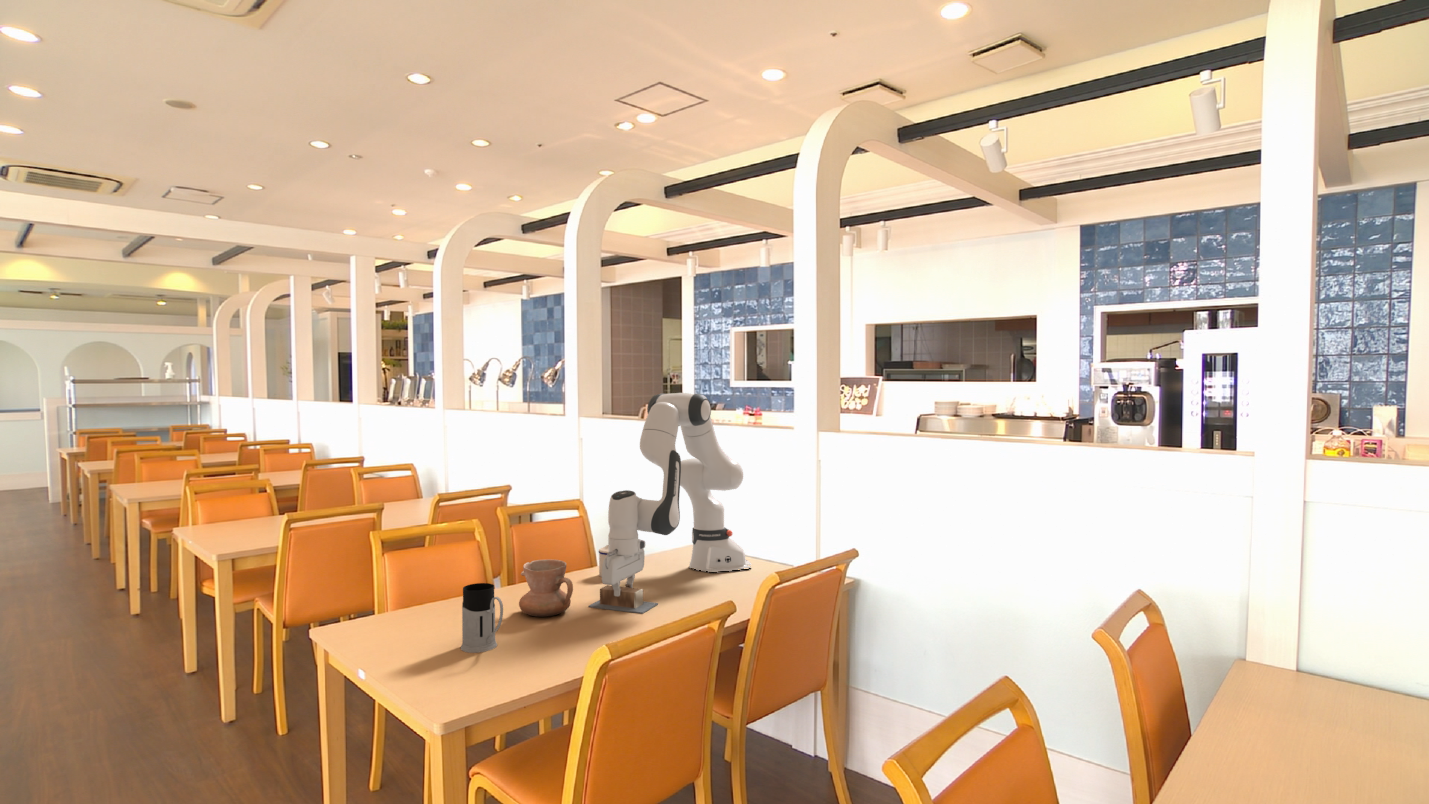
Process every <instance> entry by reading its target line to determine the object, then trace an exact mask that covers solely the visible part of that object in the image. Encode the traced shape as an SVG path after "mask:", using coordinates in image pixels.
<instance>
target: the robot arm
mask: <svg viewBox="0 0 1429 804" xmlns="http://www.w3.org/2000/svg"><path fill="white" fill-rule="evenodd" d="M711 413H712V405H711V402H710V400H709V399H708V398H707V397H706V396H705V395H703V394H700V393H689V392H676V393H675V392H674V393H673V392H672V393H671V392H670V393H658V394H654V395H653V396H652V397H651V398H650V399H649V401H648V404H647V416H646V418H645V421H644V425H643V427H642V431H641V435H640V440H639V449H640V452H641V454H642V455H643V457H644V458H645V459H646V460H648V461H649V462H651V463H652V464H654V465H655V466H658V467H659V468H661V470H662V472H663V479H662V480H663V481H662V482H663V484H662V494H661V495H662V497H661V498H660V499H659V500H654V499H644V498H642V497H639V496H637V493H636V492H635V491H633V490H629V489H628V490H627V489H626V490H619V491H616V492H614V493H613V494H611V496H610V497H609V502H608V514H607V516H608V517H607V518H608V519H607V521H608V523H607V524H608V525H609V532H608V537H607V538H608V540H607V541H608V543H607V545H608V553H607V556H606V558H605V559H604V561H603V567H602V577H601V582H602V584H603V585H605V586H607V585H610V586H612V587H613V589H614V596H620V595H622V593H621V592H622V589H620V587H621V586H620V585H621V582H622V581H624V580H626V583H625V584H624V585H625V586H624V587H628V588H634V587H633V586H634V581H635V578H636V574H638V573H640V572H642V571H643V570H644V567H645V548H646V541H645V540H643V539H640V538H639V533H638V532H639V531H640V532H646V533H647V532H648V533H654V534H658V535H663V536H668V535H670V534H672V533H673V532H674V531H675V530H677V528H678V526H679V524H680V521H681V520H680V519H681V514H680V512H681V511H680V490H681V487H682V488H683V490H684V491H685V492H686V494H687V495H688V497H689V499H690V502H691V505H692V513H693V514H692V515H693V527H692V530H691V543H692V551H691V552H692V553H691V558H690V561H689V566H690V567H689V566H688V567H689V568H690V569H691V568H694V569H696V570H695V571H699V570H701V572H706V571H708V572H707V573H709V572H717V573H719V572H718V571H729V572H733V571H732V570H738V569H744V568H750V567H751V566H748V565H752V563H751V561H749V560H747V559H746V554H745V553H746V552H745V551H744V549H743V547H741V546H740V545H739V544H738V543H737V542H735V541H734V540H733V539H731V538H730V537H732V536H733V534H734V533H733V531H732V530H731V529H728V528H727V527H725V507H724V505H723V504H722V502H720V501H719V500H718V499H716V498H715V497H714V495H712V492H711V491H722V492H723V491H724V492H725V491H731V490H736V489H738V488H739V487H740V486H741V484H742V482H743V479H744V471H743V468H742V466H741V464H740V463H739V462H736V461H735V460H733V459H732V458H731V457H730V456H729V455H728V454H727V453H725V451H723V450H724V449H722V447H721V446H720V444H719V441H718V439H717V436H716V433H715V429H714V424H713V421H712V417H711V415H712V414H711ZM679 427H680V429H681V433H682V437H683V442H684V446H685V449H686V450H687V453H689V455H690V456H692V458H688V459H687V458H686V459H683V460H682V459H681V456H680V453H678V452H677V449H676V443H677V436H678V431H679ZM694 569H693V570H694Z"/></svg>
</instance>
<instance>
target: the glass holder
mask: <svg viewBox="0 0 1429 804" xmlns="http://www.w3.org/2000/svg"><path fill="white" fill-rule="evenodd" d="M495 600H497V601H498V604H499V617H498V618H499V619H498V622H497V625H496V604H495ZM461 606H462V607H461V609H462V610H461V611H462V612H461V613H462V614H461V615H462V616H461V619H462V620H461V623H462V625H461V626H462V631H461V632H462V633H461V634H462V641H461V642H462V643H461V645H460V650H461V651H463V652H465V653H470V654H471V653H473V654H475V653H484V652H487V651H492V650H494V649H495V648H497V647H498V643H497V641H496V633H497V631H498V630H499V629H500V628H501V624H502V622H503V618H504V616H503V615H504V604H503V601H502V598H500V597H498V596H495V585H494V584H493V583H490V582H489V583H487V582H477V583H471V584H467V585H465V586H463V587H462V605H461Z"/></svg>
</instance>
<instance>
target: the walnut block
mask: <svg viewBox="0 0 1429 804" xmlns="http://www.w3.org/2000/svg"><path fill="white" fill-rule="evenodd" d="M620 589H622V592H621V593H622V595H620V596H614V589H613V587H612V585H605V586H603V587H600V588H599V600H600V604H604V605H613V606H621V607H630V608H637V607H639V606H641V605H642V604H643V601H644V588H638V587H637V588H636V587H633V588H628V587H625V586H620Z"/></svg>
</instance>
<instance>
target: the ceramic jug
mask: <svg viewBox="0 0 1429 804" xmlns="http://www.w3.org/2000/svg"><path fill="white" fill-rule="evenodd" d="M522 570H523V571H521V573H520V575H521V576H523V577H525V580H526V583H527V586H528V588H529V589H530V590H529V591H527V592H526V593H525V594H523V595H522V596H521V597H520V599H519V602H518V607H519V609H520V611H521V612H522V613H524V614H526V615H529V616H530V617H531V616H533V617H538V618H539V617H540V618H541V617H551V616H555V615H556V616H557V615H559V614H562V613H564V612H565V611H567V610H568V609H569V607H570V606H571V604H572V603H571V598H572V595H573V592H574V584H573V582H572V580H571V579H570V578H568V577H565V575H566V571H567V562H566V561H564V560H559V559H537V560H536V559H535V560H532V561H531V562H525V563H524V564H523V569H522ZM564 583H565V584H566V586H567V588H566V589H567V591H566V592H565V591H564V590H562V589H561V586H562V584H564Z"/></svg>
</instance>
